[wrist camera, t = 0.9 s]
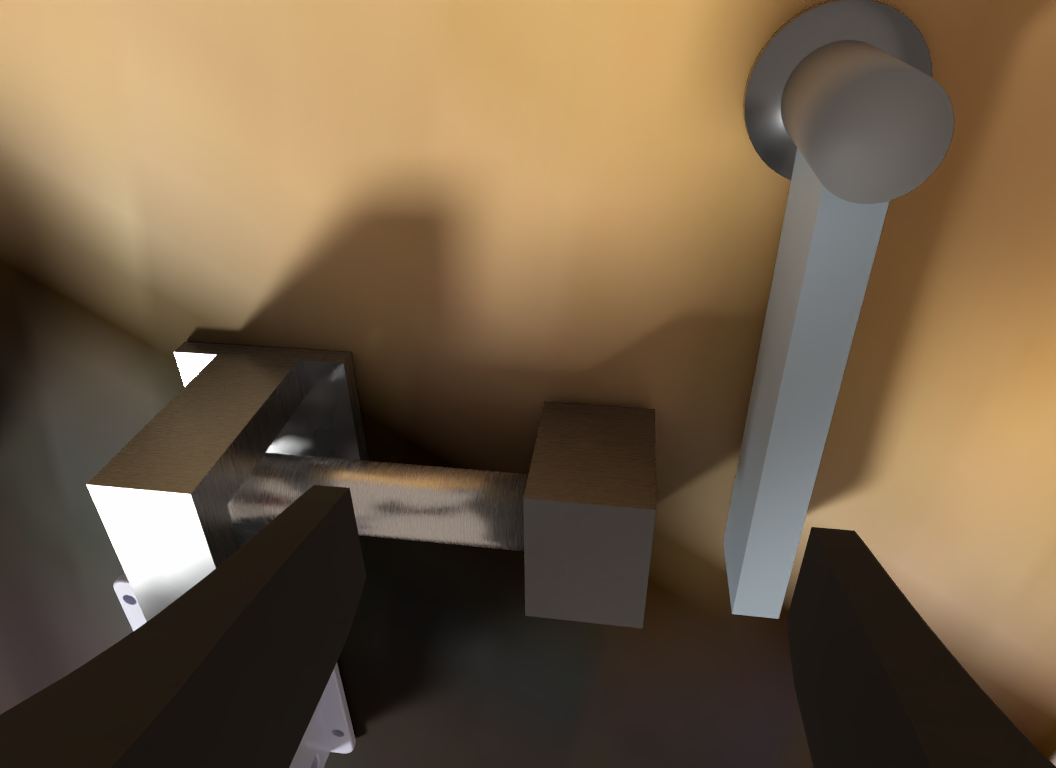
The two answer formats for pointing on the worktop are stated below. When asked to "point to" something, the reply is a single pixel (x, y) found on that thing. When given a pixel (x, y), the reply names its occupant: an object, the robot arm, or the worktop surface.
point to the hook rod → (511, 508)
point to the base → (802, 35)
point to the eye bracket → (218, 457)
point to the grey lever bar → (822, 287)
